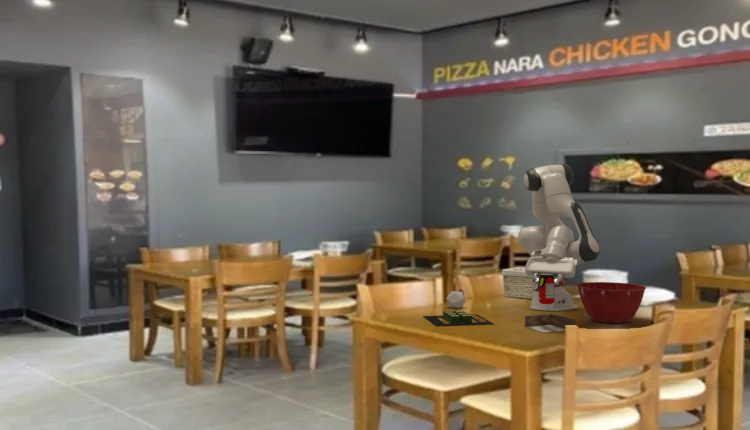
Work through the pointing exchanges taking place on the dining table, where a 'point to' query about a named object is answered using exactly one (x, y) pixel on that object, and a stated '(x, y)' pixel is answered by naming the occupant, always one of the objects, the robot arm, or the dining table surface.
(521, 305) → the dining table surface
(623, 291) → the mixing bowl
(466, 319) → the sushi
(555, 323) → the corner fence
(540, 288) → the beverage can
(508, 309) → the dining table surface
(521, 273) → the storage basket
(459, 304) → the die
